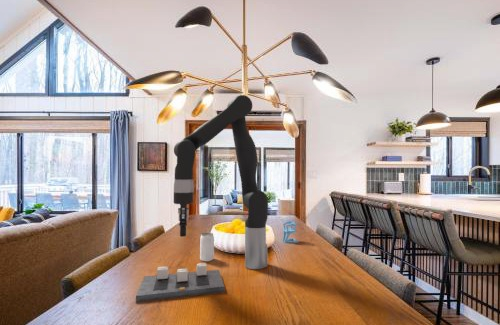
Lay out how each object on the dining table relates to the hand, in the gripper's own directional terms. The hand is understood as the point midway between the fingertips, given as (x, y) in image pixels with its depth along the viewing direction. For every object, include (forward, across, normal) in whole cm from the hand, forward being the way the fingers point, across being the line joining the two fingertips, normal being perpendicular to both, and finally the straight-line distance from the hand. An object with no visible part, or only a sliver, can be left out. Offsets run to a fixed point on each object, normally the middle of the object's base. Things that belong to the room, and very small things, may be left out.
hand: (183, 236), depth 99 cm
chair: (+16, +42, -62) cm, 77 cm away
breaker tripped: (+14, -7, 0) cm, 16 cm away
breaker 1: (+14, -3, +7) cm, 16 cm away
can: (+17, +21, -11) cm, 29 cm away
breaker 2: (+14, -3, -7) cm, 16 cm away
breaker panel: (+16, -7, 0) cm, 18 cm away
